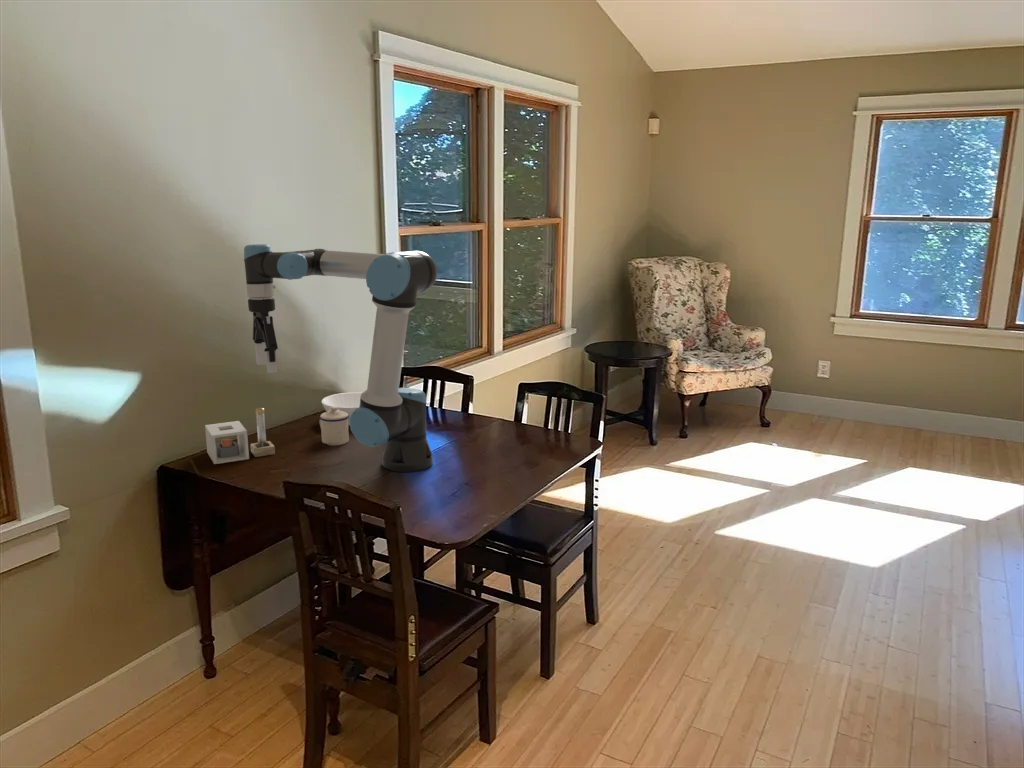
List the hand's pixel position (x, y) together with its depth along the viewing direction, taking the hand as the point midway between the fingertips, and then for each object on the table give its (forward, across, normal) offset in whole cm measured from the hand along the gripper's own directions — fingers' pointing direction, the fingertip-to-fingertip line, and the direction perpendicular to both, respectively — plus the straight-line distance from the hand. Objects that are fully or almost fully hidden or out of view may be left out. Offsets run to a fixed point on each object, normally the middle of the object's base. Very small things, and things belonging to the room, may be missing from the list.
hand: (266, 368), depth 237 cm
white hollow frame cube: (+27, +5, +13) cm, 30 cm away
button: (+26, +5, +13) cm, 29 cm away
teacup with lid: (+28, +6, -20) cm, 35 cm away
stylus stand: (+27, +3, +3) cm, 28 cm away
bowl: (+28, +23, -34) cm, 49 cm away
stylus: (+27, +3, +3) cm, 27 cm away
